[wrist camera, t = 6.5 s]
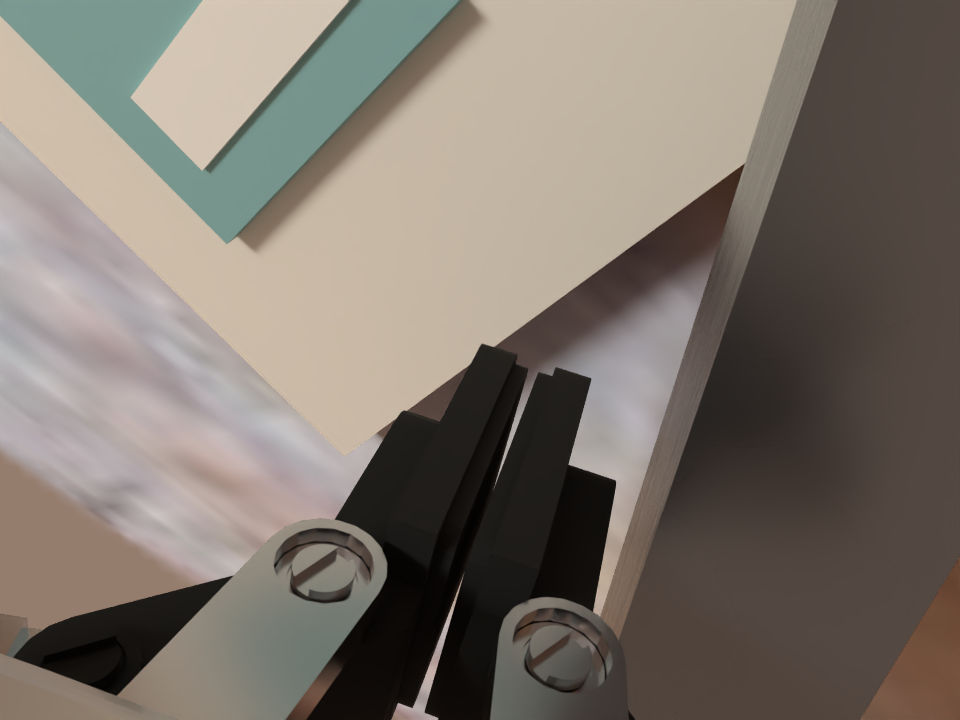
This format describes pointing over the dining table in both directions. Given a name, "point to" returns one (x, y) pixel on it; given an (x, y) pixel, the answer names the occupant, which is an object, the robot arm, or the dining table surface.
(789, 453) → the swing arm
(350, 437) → the label board
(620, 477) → the dining table surface
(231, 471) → the dining table surface
